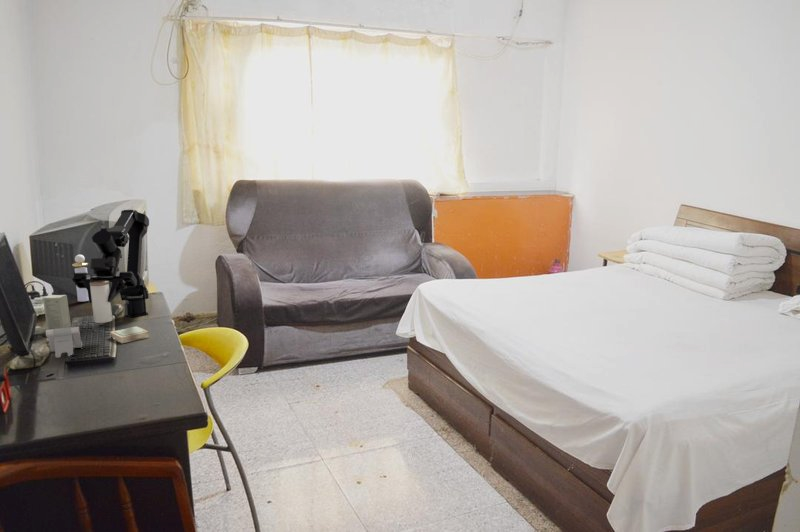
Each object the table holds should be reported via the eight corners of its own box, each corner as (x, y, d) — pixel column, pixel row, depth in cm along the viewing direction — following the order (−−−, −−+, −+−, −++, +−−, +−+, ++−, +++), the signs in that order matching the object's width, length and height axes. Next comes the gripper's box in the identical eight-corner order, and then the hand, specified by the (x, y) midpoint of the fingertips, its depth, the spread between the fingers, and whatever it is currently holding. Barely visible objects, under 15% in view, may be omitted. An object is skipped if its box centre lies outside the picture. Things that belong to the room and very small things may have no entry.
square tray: (137, 331, 203) (137, 325, 203) (149, 337, 197) (148, 330, 197) (110, 337, 197) (109, 331, 196) (121, 343, 191) (121, 336, 190)
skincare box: (71, 328, 208) (68, 294, 205) (63, 332, 203) (59, 297, 201) (54, 327, 208) (51, 294, 206) (46, 331, 204) (42, 297, 202)
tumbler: (106, 317, 196) (102, 279, 194) (116, 319, 193) (112, 281, 191) (90, 321, 192) (86, 282, 189) (99, 323, 189) (95, 284, 186)
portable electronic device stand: (82, 347, 187) (80, 322, 186) (80, 355, 180) (77, 328, 179) (51, 351, 184) (48, 325, 182) (48, 358, 177) (44, 332, 175)
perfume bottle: (95, 301, 246) (90, 253, 243) (83, 304, 241) (78, 256, 237) (85, 299, 249) (80, 252, 245) (73, 302, 243) (68, 255, 240)
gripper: (71, 248, 191) (58, 289, 183) (130, 247, 193) (121, 288, 184) (84, 267, 200) (73, 307, 192) (141, 266, 202) (132, 306, 194)
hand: (99, 302), depth 190 cm, fingers closed on tumbler, 5 cm apart
